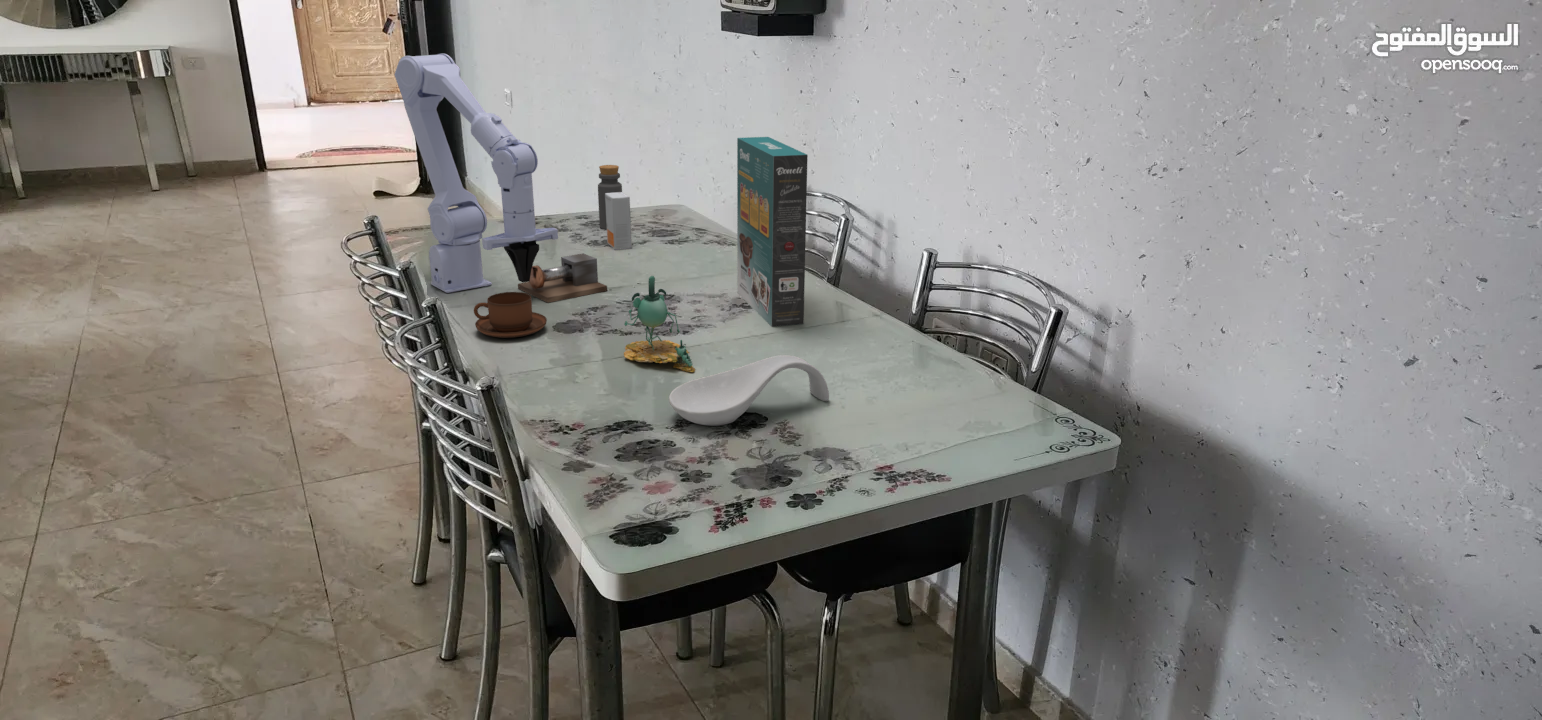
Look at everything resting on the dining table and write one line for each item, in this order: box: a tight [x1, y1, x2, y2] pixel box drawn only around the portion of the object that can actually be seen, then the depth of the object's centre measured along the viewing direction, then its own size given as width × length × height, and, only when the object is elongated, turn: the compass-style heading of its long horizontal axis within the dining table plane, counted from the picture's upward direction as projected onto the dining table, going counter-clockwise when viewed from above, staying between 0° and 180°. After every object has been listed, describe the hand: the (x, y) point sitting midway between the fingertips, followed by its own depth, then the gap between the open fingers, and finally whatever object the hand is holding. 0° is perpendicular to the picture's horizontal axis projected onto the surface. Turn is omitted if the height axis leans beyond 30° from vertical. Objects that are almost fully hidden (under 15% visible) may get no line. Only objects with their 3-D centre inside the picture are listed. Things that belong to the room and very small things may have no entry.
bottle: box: [597, 164, 623, 230], centre depth 248 cm, size 6×6×15 cm
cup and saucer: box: [473, 291, 548, 339], centre depth 174 cm, size 12×12×6 cm
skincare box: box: [605, 191, 633, 251], centre depth 230 cm, size 6×4×12 cm
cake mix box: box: [736, 136, 808, 328], centre depth 185 cm, size 22×6×30 cm, turn 18°
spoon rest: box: [668, 354, 830, 427], centre depth 143 cm, size 24×12×7 cm, turn 118°
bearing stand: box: [517, 253, 608, 304], centre depth 198 cm, size 13×12×6 cm
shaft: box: [529, 265, 573, 289], centre depth 197 cm, size 9×4×4 cm, turn 130°
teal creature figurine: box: [623, 275, 696, 374], centre depth 162 cm, size 10×18×15 cm, turn 31°
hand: (524, 280), depth 193 cm, fingers closed
